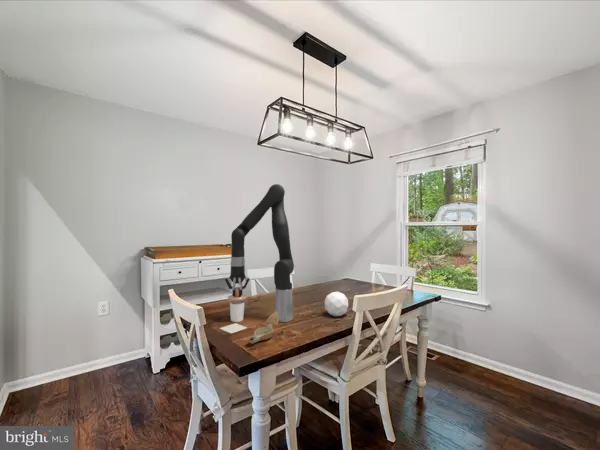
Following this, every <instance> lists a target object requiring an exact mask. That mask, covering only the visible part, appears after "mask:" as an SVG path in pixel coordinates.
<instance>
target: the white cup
mask: <svg viewBox="0 0 600 450" xmlns="http://www.w3.org/2000/svg"><path fill="white" fill-rule="evenodd" d="M244 313H245V301H244V300H239V301H232V300H230V302H229V314H230V321H231V322H234V323H239V322H242V321H244Z"/></svg>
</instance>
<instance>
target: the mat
mask: <svg viewBox="0 0 600 450" xmlns="http://www.w3.org/2000/svg"><path fill="white" fill-rule="evenodd" d="M218 329H219V330H222V331H224V332H226V333H229V334H233V333H237V332H240V331H242V330H243V331H244V330H245V329H248V327H247V326H244V325H241V324H239V323H238V322H234V323H231V324H229V325H228V324H227V325H224V326H222V327H219V328H218Z"/></svg>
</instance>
